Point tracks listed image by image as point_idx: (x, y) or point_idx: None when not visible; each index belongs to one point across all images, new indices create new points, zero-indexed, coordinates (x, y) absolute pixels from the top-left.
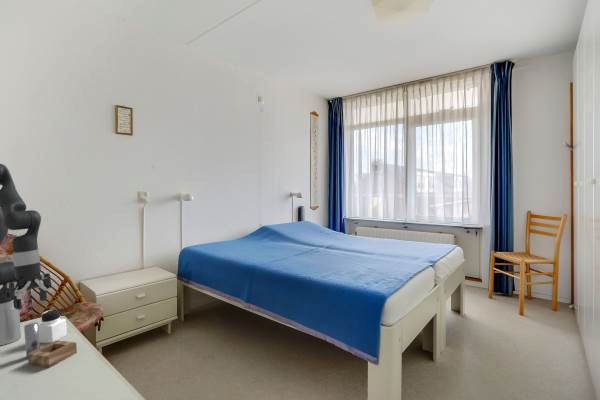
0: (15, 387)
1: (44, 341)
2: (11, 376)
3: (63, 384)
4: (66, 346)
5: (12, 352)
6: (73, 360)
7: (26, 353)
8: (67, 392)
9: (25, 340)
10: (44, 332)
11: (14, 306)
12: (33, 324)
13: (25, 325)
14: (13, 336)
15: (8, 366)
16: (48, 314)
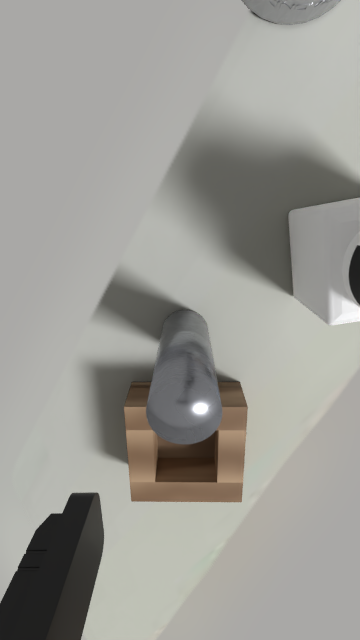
0: (36, 470)
1: (292, 257)
2: (65, 400)
3: None
4: (207, 495)
5: (189, 186)
6: None
7: (161, 334)
8: None
9: (156, 359)
10: (310, 268)
11: (34, 547)
12: (192, 420)
13: (168, 382)
14: (299, 4)
15: (102, 316)
16: None
